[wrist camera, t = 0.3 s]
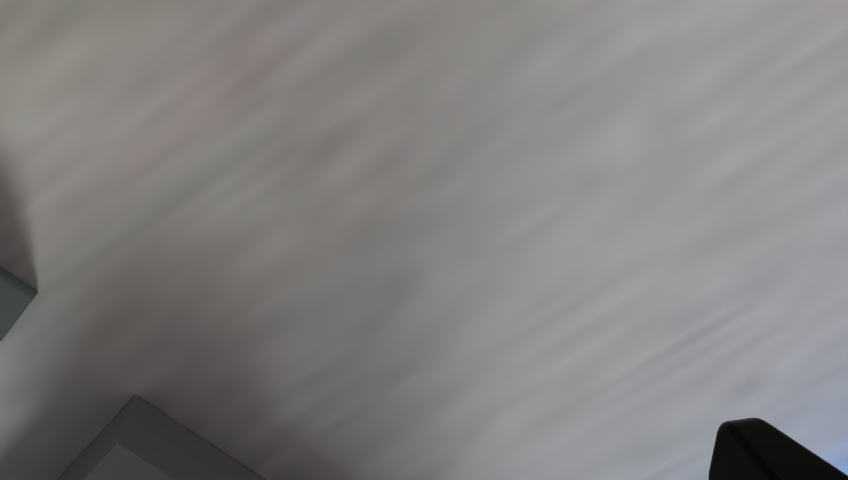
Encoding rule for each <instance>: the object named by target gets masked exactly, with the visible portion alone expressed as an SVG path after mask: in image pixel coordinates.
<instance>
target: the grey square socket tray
mask: <svg viewBox="0 0 848 480" xmlns="http://www.w3.org/2000/svg"><path fill="white" fill-rule="evenodd" d="M57 480H264V479H263V478H261V477H260V476H258V475H257V474H255V473H254V472H252V471H250V470H249V469H247V468H246V467H244V466H243V465H241V464H240V463H238V462H237V461H235V460H234V459H232V458H231V457H229V456H228V455H226V454H225V453H223V452H221V451H220V450H218V449H217V448H215V447H214V446H212V445H211V444H209V443H208V442H206V441H205V440H203V439H202V438H200V437H199V436H197V435H195V434H194V433H192V432H191V431H189V430H188V429H186V428H185V427H183V426H182V425H180V424H179V423H177V422H176V421H174V420H173V419H171V418H170V417H168V416H166V415H165V414H163V413H162V412H160V411H159V410H157V409H156V408H154V407H153V406H151V405H150V404H148V403H147V402H145V401H144V400H142V399H141V398H139V397H137V396H136V395H135V396H134V397H133V398H132V399H131V400H130V401H129V402H128V403H127V404H126V406H125V407H124V408H123V409H122V410H121V411H120V412H119V413H118V414H117V415H116V416H115V417H114V419H113V420H112V421H111V422H110V423H109V424H108V425H107V426H106V427H105V428H104V429H103V431H102V432H101V433H100V434H99V435H98V436H97V437H96V438H95V439H94V440H93V441H92V442H91V444H90V445H89V446H88V447H87V448H86V449H85V450H84V451H83V452H82V453H81V454H80V456H79V457H78V458H77V459H76V460H75V461H74V462H73V463H72V464H71V465H70V466H69V467H68V469H67V470H66V471H65V472H64V473H63V474H62V475H61V476H60V477H59V478H58V479H57Z"/></svg>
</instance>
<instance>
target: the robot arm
mask: <svg viewBox="0 0 848 480" xmlns="http://www.w3.org/2000/svg"><path fill="white" fill-rule="evenodd" d="M709 480H848V476H847V475H846V474H844V473H843V472H841V471H840V470H838V469H837V468H835V467H834V466H832V465H831V464H829V463H828V462H826V461H825V460H823V459H822V458H820V457H819V456H817V455H816V454H814V453H813V452H811V451H810V450H808V449H807V448H805V447H804V446H802V445H801V444H799V443H798V442H796V441H795V440H793V439H792V438H790V437H789V436H787V435H786V434H784V433H783V432H781V431H780V430H778V429H777V428H775V427H774V426H772V425H770V424H769V423H767V422H766V421H764V420H761V419H759V418H747V419H740V420H733V421H727V422H724V423H722V424H721V426H720V427H719V429H718V432H717V436H716V441H715V445H714V450H713V455H712V460H711V465H710V470H709Z"/></svg>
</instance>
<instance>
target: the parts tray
mask: <svg viewBox="0 0 848 480" xmlns="http://www.w3.org/2000/svg"><path fill="white" fill-rule="evenodd" d="M37 293H38V292H37V291H35V290H34V289H32V288H31V287H29V286H28V285H26V284H25V283H23V282H22V281H21V280H19V279H18V278H16V277H15V276H13V275H12V274H10V273H9V272H7V271H6V270H4V269H3V268H1V267H0V342H1V341H2V339H3V338H4V337H5V335H6V334H7V333H8V331H9V330H10V329H11V327H12V326H13V325H14V323H15V322H16V321H17V320H18V318H19V317H20V316H21V314H22V313H23V312H24V310H25V309H26V308H27V306H28V305H29V304H30V302H31V301H32V300H33V298H34V297H35V296H36V294H37Z"/></svg>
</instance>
